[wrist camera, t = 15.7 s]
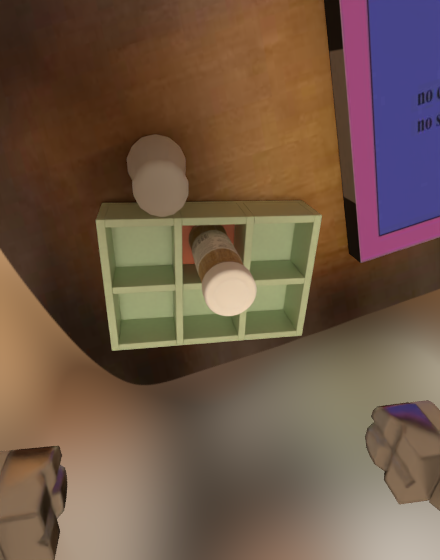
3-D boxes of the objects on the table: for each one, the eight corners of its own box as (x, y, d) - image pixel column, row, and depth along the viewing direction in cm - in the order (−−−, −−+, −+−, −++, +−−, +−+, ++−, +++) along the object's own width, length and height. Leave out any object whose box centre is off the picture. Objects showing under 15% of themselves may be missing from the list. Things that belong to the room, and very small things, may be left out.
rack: (115, 322, 47) (111, 350, 41) (101, 202, 39) (95, 219, 34) (286, 310, 50) (301, 335, 45) (301, 200, 43) (322, 215, 38)
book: (360, 263, 45) (335, -45, 31) (349, 253, 48) (320, -35, 33) (518, 210, 46) (569, -116, 31) (498, 204, 48) (536, -101, 34)
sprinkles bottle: (201, 262, 44) (222, 327, 32) (180, 233, 41) (193, 290, 30) (234, 241, 43) (267, 299, 31) (213, 210, 41) (241, 260, 29)
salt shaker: (137, 194, 40) (134, 237, 28) (119, 139, 37) (108, 162, 26) (189, 181, 40) (207, 219, 29) (176, 126, 37) (190, 143, 26)
